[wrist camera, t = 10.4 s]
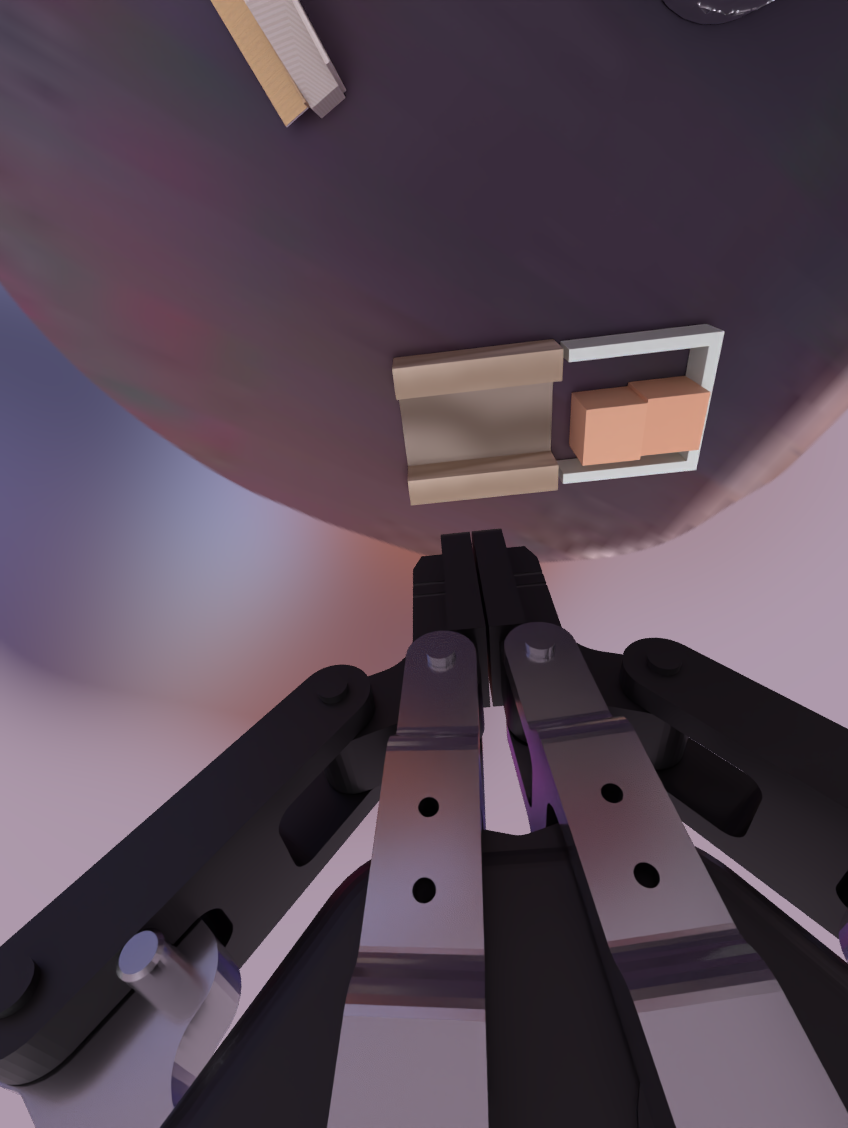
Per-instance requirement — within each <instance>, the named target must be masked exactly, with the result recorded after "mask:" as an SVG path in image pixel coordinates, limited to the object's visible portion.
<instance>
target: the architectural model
mask: <svg viewBox="0 0 848 1128" xmlns="http://www.w3.org/2000/svg"><path fill="white" fill-rule="evenodd" d="M211 2H212V3H213V5H214V7H215V8H216V10H217V12H218V13H219V15H220V17H221V18H222V20H223V22H224V23H225V25H226V27H227V28H228V30H229V32H230V33H231V35H232V37H233V39H234V40H235V42H236V44H237V45H238V47H239V49H240V50H241V52H242V54H243V55H244V57H245V59H246V60H247V62H248V64H249V65H250V67H251V69H252V70H253V72H254V74H255V75H256V77H257V79H258V80H259V82H260V84H261V85H262V87H263V89H264V90H265V92H266V94H267V95H268V97H269V99H270V101H271V102H272V104H273V106H274V107H275V109H276V111H277V112H278V114H279V116H280V117H281V119H282V121H283V122H284V124H285V126H286V127H288V126H289V125H290V124H292V123H293V122H294V121H295V120H296V119H297V118H298V117H299V116H301V115H302V114H303V113H304V112H305V111H306V110H307V109H308V108H310V107H311V109H312V110H313V111H314V112H315V113H316V114H317V115H318V116H319V117H320V118H323V117H324V116H325V115H326V114H328V113H329V112H330V111H331V110H332V109H333V108H334V107H336V106H337V105H338V104H339V103H340V102H341V101H342V100H344V99H345V98H346V97H345V95H344V92H345V91H346V88H345V86H344V85H343V83H342V81H341V79H340V77H339V75H338V73H337V71H336V69H335V67H334V66H333V64H332V62H331V60H330V58H329V56H328V54H327V52H326V50H325V49H324V47H323V45H322V43H321V41H320V39H319V37H318V35H317V33H316V32H315V30H314V28H313V26H312V24H311V22H310V20H309V18H308V16H307V14H306V13H305V11H304V9H303V7H302V5H301V3H300V1H299V0H211Z"/></svg>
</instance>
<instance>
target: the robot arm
mask: <svg viewBox="0 0 848 1128" xmlns="http://www.w3.org/2000/svg"><path fill="white" fill-rule="evenodd" d="M663 1H664V2H665V4H666V5H667V6H668V8H670V9H671V10H672V11H674V12H675V13H677V14H678V15H679V16H681V17H682V18H683V19H686V20H689V21H693V22H696V23H699V24H721V23H725V22H728V21H732V20H735V19H739V18H741V17H743V16H744V15H746V14H748V13H750V12H752V11H755V10H757V9H759V8H761V7H763V6H765V5H767V4H769V3H771V2H772V1H774V0H663ZM441 545H442V555H432V556H422V557H421V558H420V560H419V561H418V563H417V564H416V566H415V567H414V569H413V643H412V644H411V645H410V647H409V649H408V650H407V654H406V657H405V658H404V659H403V660H402V661H401V662H399V663H398V664H397V665H395V666H393V667H391V668H390V669H387V670H385V671H382V672H379V673H376V674H374V675H371V676H367V675H366V674H365V673H364V672H363V671H362V670H361V669H359V668H357V667H354V666H350V665H334V666H330V667H326V668H323V669H321V670H319V671H317V672H316V673H314V674H313V675H311V676H310V677H309V678H308V679H306V680H305V681H304V682H303V683H302V684H301V685H300V686H298V687H297V688H296V689H295V690H294V691H293V692H292V693H290V694H289V695H288V696H287V697H286V698H285V699H284V700H282V701H281V702H280V703H279V704H278V705H277V706H276V707H275V708H273V709H272V710H271V711H270V712H269V713H267V714H266V715H265V716H264V717H263V718H262V719H261V720H259V721H258V722H257V723H256V724H255V725H254V726H253V727H251V728H250V729H249V730H248V731H247V732H246V733H245V734H243V735H242V736H241V737H240V738H239V739H238V740H236V741H235V742H234V743H233V744H232V745H231V746H230V747H228V748H227V749H226V750H225V751H224V752H223V753H222V754H221V755H219V756H218V757H217V758H216V759H215V760H214V761H212V762H211V763H210V764H209V765H208V766H207V767H206V768H204V769H203V770H202V771H201V772H200V773H199V774H198V775H197V776H195V777H194V778H193V779H192V780H191V781H189V782H188V783H187V784H186V785H185V786H184V787H183V788H181V789H180V790H179V791H178V792H177V793H176V794H175V795H173V796H172V797H171V798H170V799H169V800H168V801H167V802H165V803H164V804H163V805H162V806H161V807H160V808H159V809H157V810H156V811H155V812H154V813H153V814H152V815H151V816H149V817H148V818H147V819H146V820H145V821H144V822H143V823H142V824H140V825H139V826H138V827H137V828H136V829H134V830H133V831H132V832H131V833H130V834H129V835H128V836H127V837H125V838H124V839H123V840H122V841H121V842H120V843H118V844H117V845H116V846H115V847H114V848H113V849H112V850H110V851H109V852H108V853H107V854H106V855H105V856H104V857H102V858H101V859H100V860H99V861H98V862H97V863H96V864H94V865H93V866H92V867H91V868H90V869H89V870H88V871H86V872H85V873H84V874H83V875H82V876H81V877H80V878H79V879H77V880H76V881H75V882H74V883H73V884H72V885H70V886H69V887H68V888H67V889H66V890H65V891H63V892H62V893H61V894H60V895H59V896H58V897H57V898H55V899H54V901H52V902H51V903H50V904H49V905H47V906H46V907H45V908H44V909H43V910H42V911H41V912H39V913H38V914H37V915H36V916H35V917H34V918H33V919H31V921H29V922H28V923H27V924H26V925H25V926H23V927H22V928H21V929H20V930H19V931H18V932H17V933H15V934H14V935H13V936H12V937H11V938H10V939H8V940H7V941H6V942H5V943H4V944H3V945H2V946H1V947H0V1086H1V1087H3V1088H4V1089H7V1090H9V1091H12V1092H14V1093H16V1094H19V1095H21V1096H22V1098H23V1100H24V1103H25V1105H26V1107H27V1109H28V1112H29V1114H30V1116H31V1118H32V1121H33V1123H34V1125H35V1128H848V729H847V728H845V727H843V726H841V725H839V724H837V723H835V722H833V721H831V720H829V719H827V718H825V717H823V716H821V715H819V714H817V713H815V712H814V711H812V710H810V709H808V708H806V707H804V706H802V705H800V704H798V703H796V702H794V701H792V700H790V699H788V698H786V697H784V696H782V695H780V694H778V693H776V692H775V691H772V690H770V689H768V688H767V687H764V686H762V685H761V684H759V683H757V682H755V681H753V680H751V679H749V678H747V677H745V676H743V675H741V674H739V673H737V672H735V671H733V670H732V669H730V668H728V667H726V666H724V665H722V664H720V663H718V662H716V661H714V660H712V659H710V658H708V657H706V656H704V655H702V654H700V653H698V652H696V651H694V650H692V649H690V648H688V647H687V646H685V645H682V644H680V643H678V642H675V641H672V640H668V639H663V638H645V639H641V640H638V641H635V642H634V643H632V644H630V645H629V646H628V647H627V648H626V649H625V651H624V653H623V655H622V654H615V653H609V652H602V651H597V650H593V649H589V648H586V647H584V646H582V645H580V644H578V643H576V641H575V640H574V638H573V636H572V635H571V634H570V633H569V632H568V631H566V630H565V629H563V628H562V627H561V624H560V621H559V619H558V615H557V613H556V610H555V607H554V604H553V601H552V598H551V595H550V592H549V590H548V587H547V585H546V581H545V578H544V575H543V574H542V570H541V567H540V564H539V561H538V558H537V557H536V556H535V555H534V554H533V553H532V552H531V551H529V550H528V549H527V548H526V547H525V546H521V547H511V548H506V544H505V541H504V537H503V533H502V530H501V529H491V530H481V531H472V543H471V537H470V532H462V533H452V534H443V535H441ZM488 677H489V678H488ZM489 683H490V690H491V696H492V702H493V706H504V710H505V715H506V728H507V740H508V743H509V747H510V751H511V755H512V759H513V762H514V766H515V770H516V773H517V777H518V781H519V785H520V789H521V792H522V796H523V800H524V804H525V807H526V811H527V815H528V820H529V824H530V831H531V833H529V834H525V835H511V834H505V833H500V832H494V831H489V830H486V819H485V794H484V768H483V744H482V743H483V742H482V735H483V732H484V711H483V708H484V707H490V697H489ZM689 737H690V738H689ZM692 739H693V740H692ZM695 741H696V742H695ZM700 744H701V745H700ZM703 746H704V747H703ZM706 748H707V749H706ZM708 749H709V750H708ZM711 751H712V752H711ZM714 753H715V754H714ZM717 755H718V756H717ZM719 756H720V757H719ZM722 758H723V759H722ZM725 760H726V761H725ZM727 761H728V762H727ZM730 763H731V764H730ZM733 765H734V766H733ZM736 767H737V768H736ZM738 768H739V769H740V770H739V769H738ZM741 770H742V771H741ZM744 772H745V773H744ZM378 801H379V808H378V815H377V822H376V830H375V837H374V844H373V852H372V859H371V860H369V861H368V862H366V863H365V864H363V865H362V866H360V867H359V868H358V869H357V870H356V871H354V872H353V873H352V874H351V875H350V876H348V877H347V878H346V879H345V880H344V881H343V883H342V884H341V885H340V886H339V887H338V888H337V889H336V890H335V891H334V893H333V894H332V895H331V896H330V898H329V899H328V900H327V901H326V903H325V904H324V906H323V907H322V908H321V910H320V911H319V912H318V914H317V915H316V916H315V918H314V919H313V920H312V922H311V923H310V925H309V926H308V927H307V929H306V930H305V931H304V933H303V934H302V936H301V937H300V938H299V940H298V941H297V942H296V943H295V945H294V946H293V948H292V949H291V950H290V952H289V953H288V954H287V956H286V957H285V959H284V960H283V961H282V963H281V964H280V965H279V967H278V968H277V969H276V971H275V972H274V973H273V975H272V976H271V977H270V979H269V980H268V981H267V983H266V984H265V986H264V987H263V988H262V990H261V991H260V992H259V994H258V995H257V996H256V998H255V999H254V1001H253V1002H252V1003H251V1004H250V1006H249V1007H248V1009H247V1010H246V1011H245V1013H244V1014H243V1015H242V1017H241V1018H240V1019H239V1021H238V1022H237V1024H236V1025H235V1026H234V1028H233V1029H232V1030H231V1032H230V1033H229V1034H228V1036H227V1037H226V1038H225V1040H224V1041H223V1042H222V1044H221V1045H220V1046H219V1048H218V1049H217V1051H216V1052H215V1053H214V1051H215V1049H216V1047H217V1046H218V1044H219V1042H220V1041H221V1039H222V1038H223V1036H224V1034H225V1033H226V1031H227V1030H228V1028H229V1026H230V1024H231V1022H232V1020H233V1018H234V1016H235V1013H236V1011H237V1008H238V1005H239V1000H240V994H241V975H240V970H239V969H240V968H241V967H242V965H243V964H244V963H245V962H246V961H247V959H248V958H249V957H250V956H251V955H252V953H253V952H254V951H255V950H256V949H257V947H258V946H259V945H260V944H261V942H262V941H263V940H264V939H265V938H266V937H267V935H268V934H269V933H270V932H271V930H272V929H273V928H274V927H275V926H276V924H277V923H278V922H279V921H280V920H281V918H282V917H283V916H284V915H285V914H286V912H287V911H288V910H289V909H290V908H291V906H292V905H293V904H294V903H295V901H296V900H297V899H298V898H299V897H300V895H301V894H302V893H303V892H304V890H305V889H306V888H307V887H308V886H309V885H310V883H311V882H312V881H313V880H314V878H315V877H316V876H317V875H318V874H319V872H320V871H321V870H322V869H323V868H324V866H325V865H326V864H327V863H328V862H329V860H330V859H331V858H332V857H333V855H334V854H335V853H336V852H337V851H338V850H339V848H340V847H341V846H342V845H343V843H344V842H345V841H346V840H347V839H348V837H349V836H350V835H351V834H352V833H353V831H354V830H355V829H356V828H357V827H358V825H359V824H360V823H361V822H362V820H363V819H364V818H365V817H366V816H367V814H368V813H369V812H370V811H371V810H372V808H373V807H374V806H375V805H376V804H377V802H378ZM682 822H684V823H685V824H686V825H688V826H689V827H691V828H692V829H693V830H694V831H696V832H697V833H698V834H700V835H701V836H702V837H704V838H705V839H706V840H708V841H709V842H710V843H712V844H713V845H714V846H716V847H717V848H718V849H720V850H721V851H722V852H724V853H725V854H726V855H728V856H729V857H730V858H732V859H733V860H734V861H736V862H737V863H738V864H740V865H741V866H743V867H744V868H745V869H746V870H748V871H749V872H750V873H752V874H753V875H754V876H756V877H757V878H758V879H760V880H761V881H762V882H764V883H765V884H766V885H768V886H769V887H770V888H772V889H773V890H774V891H776V892H777V893H778V894H779V895H781V896H782V897H783V898H785V899H787V900H788V901H789V902H790V903H791V904H793V905H794V906H795V907H797V908H798V909H799V910H801V911H802V912H804V913H805V914H806V915H807V916H809V917H810V918H811V919H813V920H814V921H815V922H817V923H818V924H819V925H821V926H822V927H823V928H825V929H826V930H827V931H829V932H830V933H831V934H833V935H834V936H835V937H837V938H838V939H839V941H840V945H841V949H842V952H843V954H844V956H845V959H846V961H847V963H846V962H845V961H844V960H843V959H841V958H840V957H839V956H837V955H836V954H835V953H834V952H833V951H831V950H830V949H829V948H828V947H826V946H825V945H824V944H823V943H822V942H820V941H819V940H818V939H817V938H815V937H814V936H813V935H811V934H810V933H809V932H808V931H807V930H805V929H804V928H803V927H802V926H800V925H799V924H798V923H797V922H795V921H794V920H793V919H792V918H790V917H789V916H788V915H787V914H786V913H784V912H783V911H782V910H781V909H779V908H778V907H777V906H776V905H774V904H773V903H772V902H771V901H769V900H768V899H767V898H766V897H765V896H763V895H762V894H761V893H760V892H758V891H757V890H756V889H755V888H753V887H752V886H751V885H749V884H748V883H747V882H746V881H745V880H743V879H742V878H741V877H740V876H738V875H737V874H736V873H735V872H734V871H732V870H731V869H730V868H728V867H727V866H726V865H724V864H723V863H722V862H720V861H719V860H717V859H715V858H714V857H713V856H711V855H709V854H708V853H707V852H705V851H703V850H701V849H699V848H697V847H695V846H694V845H693V842H692V841H691V839H690V837H689V835H688V833H687V831H686V829H685V827H684V825H683V823H682ZM213 1054H214V1055H213Z"/></svg>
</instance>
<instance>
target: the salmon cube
mask: <svg viewBox="0 0 848 1128" xmlns="http://www.w3.org/2000/svg"><path fill="white" fill-rule="evenodd" d="M628 387H629V388H630V389H632V390H633V391H634V392H635V393H636V394H638V395H639V396H640V397H641V398H642V399H643V400H645V401H646V402H647V403H648V405H647V413H646V420H645V428H644V435H643V442H642V450H641V456H645V455H655V454H664V453H673V452H683V451H692V450H699V447H700V442H701V437H702V432H703V427H704V422H705V417H706V412H707V407H708V402H709V398H710V393H711V392H710V391H708V390H707V389H705V388H703V387H702V386H700V385H699V384H697V383H696V382H694V381H692V380H691V379H689V378H688V377H686V376H678V377H669V378H661V379H652V380H643V381H634V382H628Z"/></svg>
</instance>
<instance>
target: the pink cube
mask: <svg viewBox="0 0 848 1128" xmlns="http://www.w3.org/2000/svg"><path fill="white" fill-rule="evenodd" d="M647 405H648V403H647V402H646V401H645V400H643V399H642V398H641V397H640V396H639V395H638V394H636V393H635V392H634V391H633V390H632V389H630V388H629V387H628V386H625V387H616V388H607V389H598V390H590V391H581V392H572V397H571V417H570V436H569V445H570V447H571V449H572V450H573V452H574V453H575V455H576V456H577V458H578V459H579V461H580V462H581V464H582V466H586V465H595V464H605V463H614V462H623V461H633V460H640V457H641V450H642V442H643V435H644V428H645V420H646V413H647Z"/></svg>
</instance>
